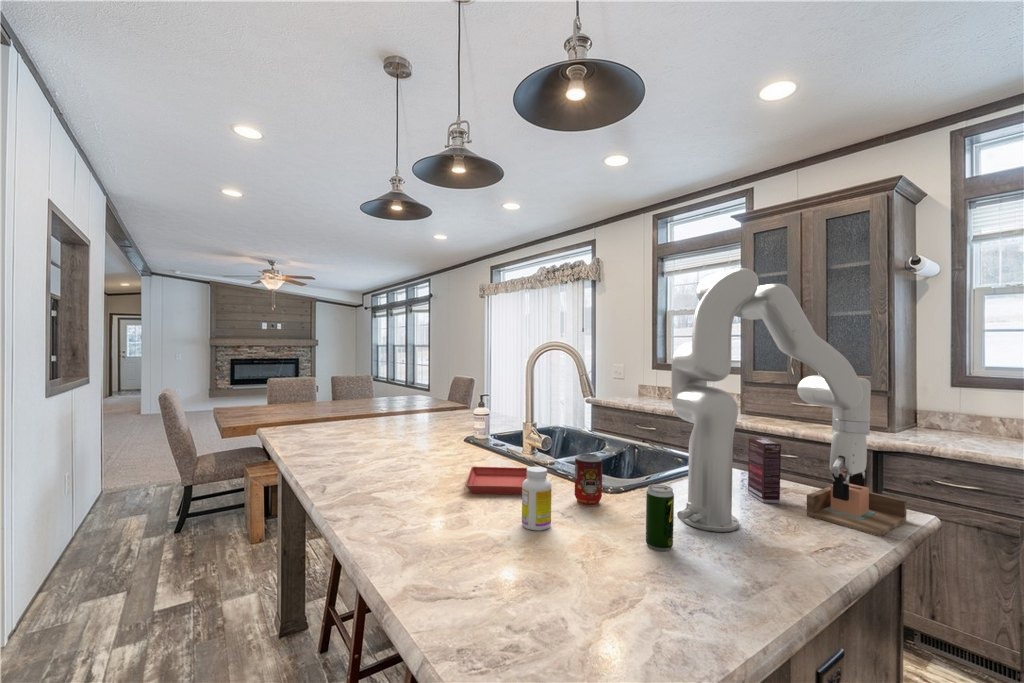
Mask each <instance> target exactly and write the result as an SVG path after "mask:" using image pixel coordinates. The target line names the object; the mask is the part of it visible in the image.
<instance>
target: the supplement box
mask: <svg viewBox="0 0 1024 683" xmlns="http://www.w3.org/2000/svg"><path fill="white" fill-rule="evenodd" d="M781 450H782V443H779V442H776V441H773V440H771V439H768V438H766V437H757V436H755V437H753V436H751V437H748V463H747V464H748V466H747V468H748V472H747V476H748V477H747V494H749V495H751V496H752V497H754V498H755V499H757V500H759V501H760V502H761V503H766V504H780V503H781V462H782V461H781V460H782V458H781V456H782V453H781V452H782V451H781Z"/></svg>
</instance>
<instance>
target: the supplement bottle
mask: <svg viewBox="0 0 1024 683" xmlns="http://www.w3.org/2000/svg"><path fill="white" fill-rule="evenodd" d="M526 468H527V476H528V478H527V479H525V480H524V481H523V483H522V494H521V525H522V527H524V528H525V529H527V530H530V531H539V532H540V531H544V530H547V529H549V528H550V527H551V524H552V483H551V481H550V480H549V479H547V476H548V469H547V468H546V467H543V466H528V467H526Z"/></svg>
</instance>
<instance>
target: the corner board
mask: <svg viewBox="0 0 1024 683" xmlns="http://www.w3.org/2000/svg"><path fill="white" fill-rule="evenodd" d="M907 503H908V502H907V500H906V499H902V498H898V497H895V496H891V495H890V496H889V495H885V494H881V493H876V492H872V491H869V512H868V513H866V514H864V515H862V516H860V517H857V516H853V515H849V514H846V513H842V512H838V511H834V510H831V485H829V486H826V487H825V488H822V489H819V490H816V491H814V492H811V493H809V494H806V512H805V514H806V516H808V517H812V518H815V519H819V520H821V519H822V521H826V522H828V523H832V524H835V523H836V525H839V526H842V525H843V527H846V528H849V527H850V529H852V528H853V530H856V529H857V530H856V531H859V530H861V531H860V532H863V531H864V533H866V532H868V534H870V533H872V534H871V535H873V534H875V535H874V536H877V535H879V536H878V537H880V536H881V537H882V535H883V534H884V535H886V534H887V533H889V532H890V531H889V530H891V529H892V530H894V529H896V528H897V527H899V526H900V524H901V525H903V524H904V523H906V522H907V514H908V513H907V512H908V511H907V510H908V509H907V507H908V506H907V505H908V504H907ZM903 522H904V523H903ZM898 525H899V526H898ZM896 526H897V527H896ZM895 527H896V528H895ZM893 528H894V529H893ZM892 530H891V531H892ZM888 531H889V532H888ZM886 532H887V533H886ZM885 533H886V534H885ZM884 535H883V536H884Z"/></svg>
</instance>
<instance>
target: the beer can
mask: <svg viewBox="0 0 1024 683" xmlns="http://www.w3.org/2000/svg"><path fill="white" fill-rule="evenodd" d="M673 490H674V489H673V487H671V486H670V485H664V484H659V483H658V484H657V483H656V484H655V483H653V484H649V485H648V486H647V490H646V496H645V497H646V500H645V501H646V504H645V505H646V507H645V508H646V509H645V512H646V513H645V544H646V545H647V547H648V548H649V549H651V550H653V551H657V552H669V551H671V550H672V548H673V546H674V519H675V518H674V516H675V515H674V514H675V513H674V511H675V509H674V508H675V507H674V506H675V503H674V502H675V493H674V491H673Z"/></svg>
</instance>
